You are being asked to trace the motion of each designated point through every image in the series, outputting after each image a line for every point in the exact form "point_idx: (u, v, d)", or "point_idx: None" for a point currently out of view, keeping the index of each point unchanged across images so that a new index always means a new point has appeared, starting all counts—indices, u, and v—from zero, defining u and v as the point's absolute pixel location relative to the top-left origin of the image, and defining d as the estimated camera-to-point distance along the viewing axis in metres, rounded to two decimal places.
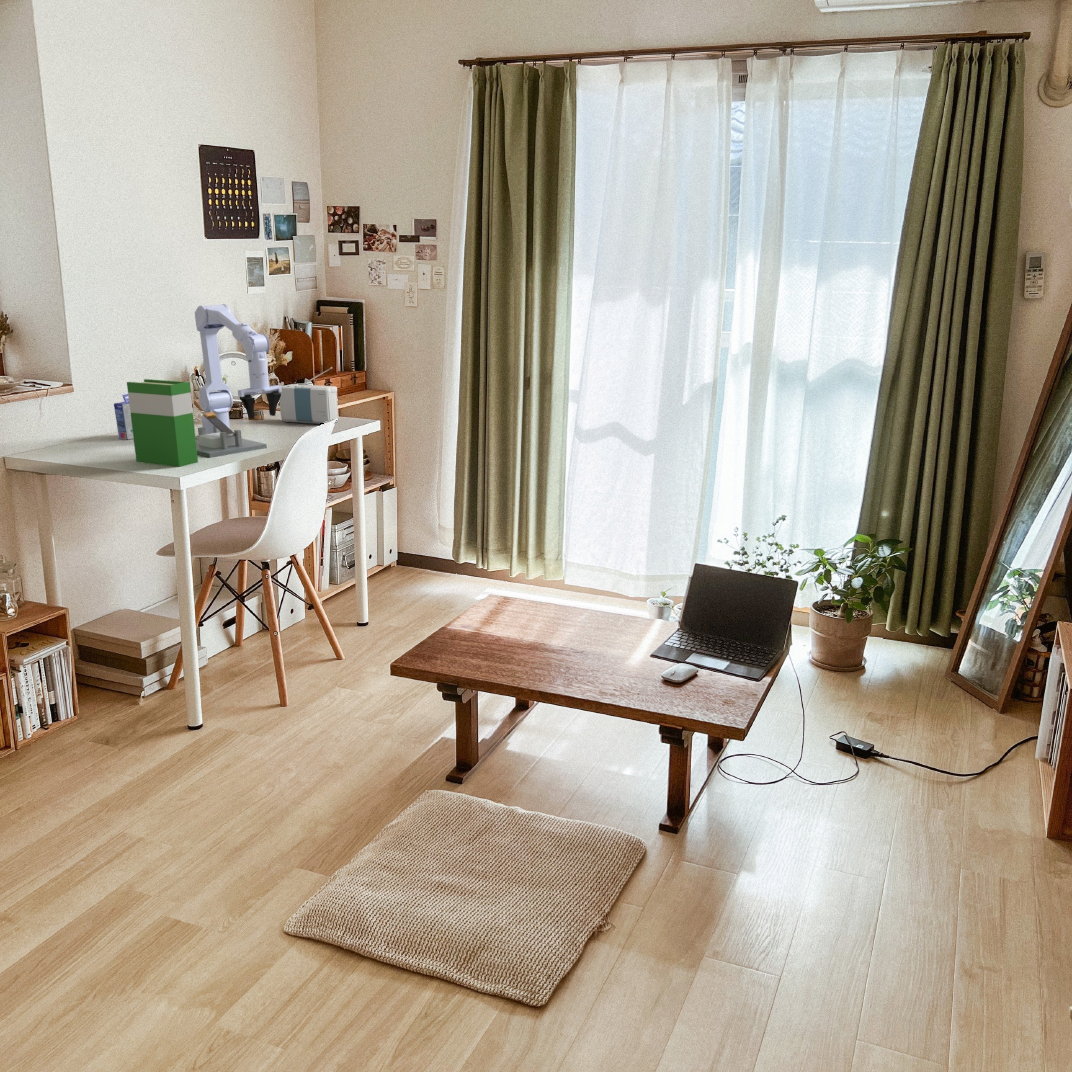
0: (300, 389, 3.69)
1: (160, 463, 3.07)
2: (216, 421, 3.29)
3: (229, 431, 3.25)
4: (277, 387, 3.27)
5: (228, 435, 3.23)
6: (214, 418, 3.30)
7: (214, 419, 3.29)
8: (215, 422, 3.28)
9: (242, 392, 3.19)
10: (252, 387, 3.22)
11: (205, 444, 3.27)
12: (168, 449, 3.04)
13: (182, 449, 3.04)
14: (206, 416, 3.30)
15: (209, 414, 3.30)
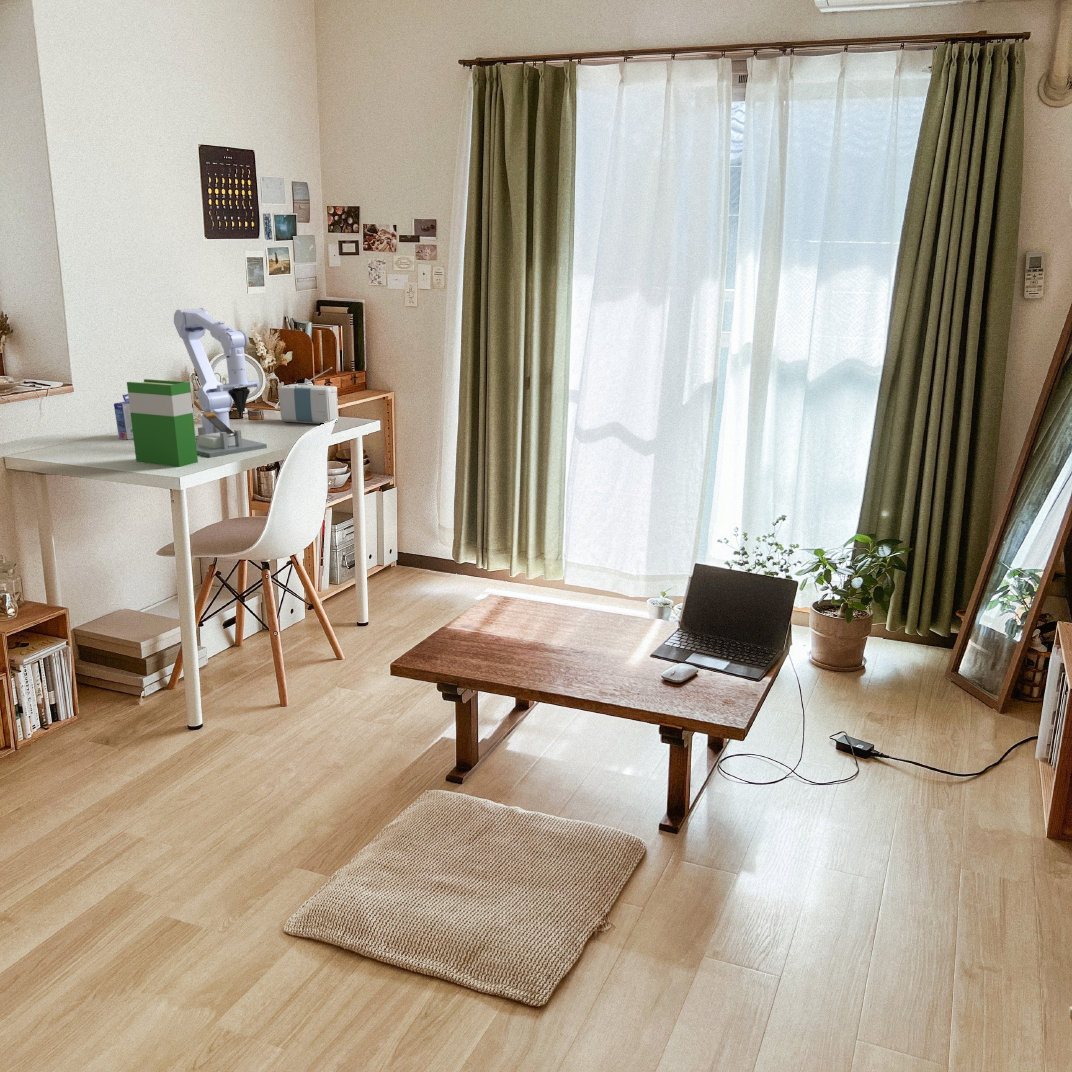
0: (300, 389, 3.69)
1: (160, 463, 3.07)
2: (216, 421, 3.29)
3: (229, 431, 3.25)
4: (255, 382, 3.36)
5: (228, 435, 3.23)
6: (214, 418, 3.30)
7: (214, 419, 3.29)
8: (215, 422, 3.28)
9: (221, 387, 3.27)
10: (231, 382, 3.30)
11: (205, 444, 3.27)
12: (168, 449, 3.04)
13: (182, 449, 3.04)
14: (206, 416, 3.30)
15: (209, 414, 3.30)
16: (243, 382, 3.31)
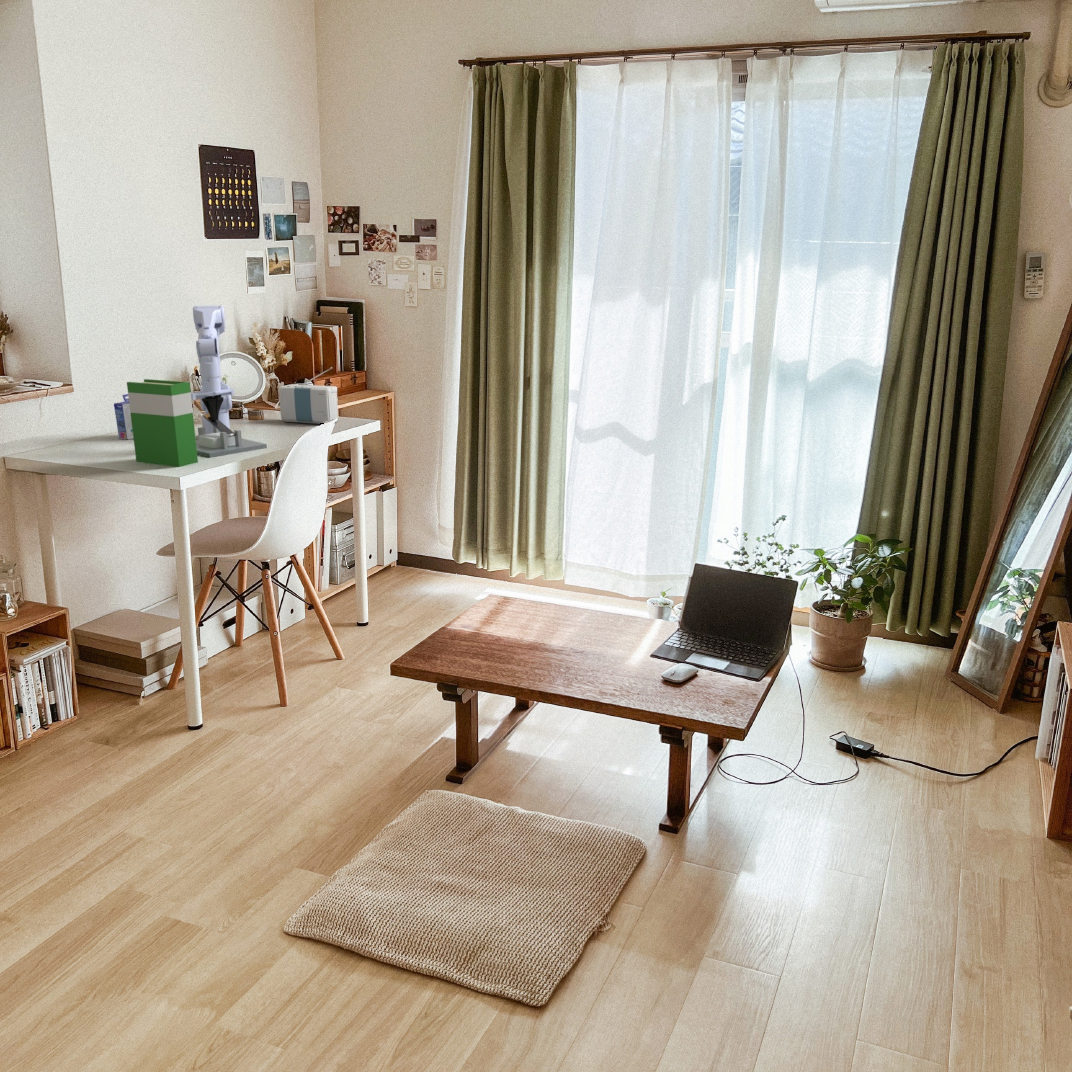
0: (300, 389, 3.69)
1: (160, 463, 3.07)
2: (216, 422, 3.29)
3: (229, 432, 3.25)
4: (229, 390, 3.30)
5: (228, 435, 3.23)
6: None
7: (214, 420, 3.29)
8: (215, 423, 3.28)
9: (193, 395, 3.22)
10: (204, 390, 3.24)
11: (205, 444, 3.27)
12: (168, 449, 3.04)
13: (182, 449, 3.04)
14: (206, 417, 3.30)
15: (209, 415, 3.30)
16: (216, 390, 3.25)
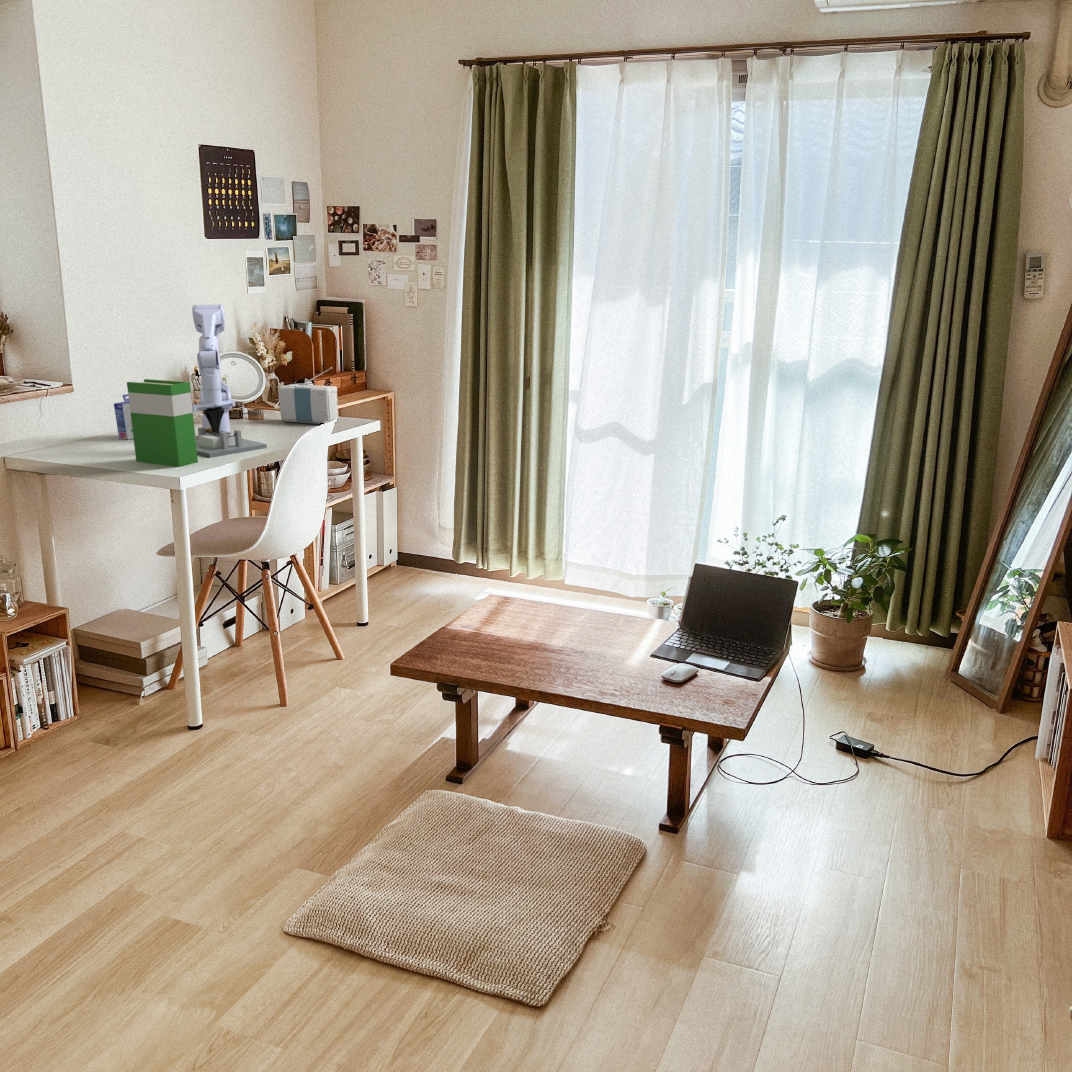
0: (300, 389, 3.69)
1: (160, 463, 3.07)
2: None
3: (229, 433, 3.26)
4: (230, 402, 3.31)
5: (228, 434, 3.23)
6: None
7: None
8: None
9: (195, 407, 3.23)
10: (205, 402, 3.26)
11: (205, 444, 3.27)
12: (168, 449, 3.04)
13: (182, 449, 3.04)
14: (206, 430, 3.31)
15: (208, 428, 3.32)
16: (218, 402, 3.26)
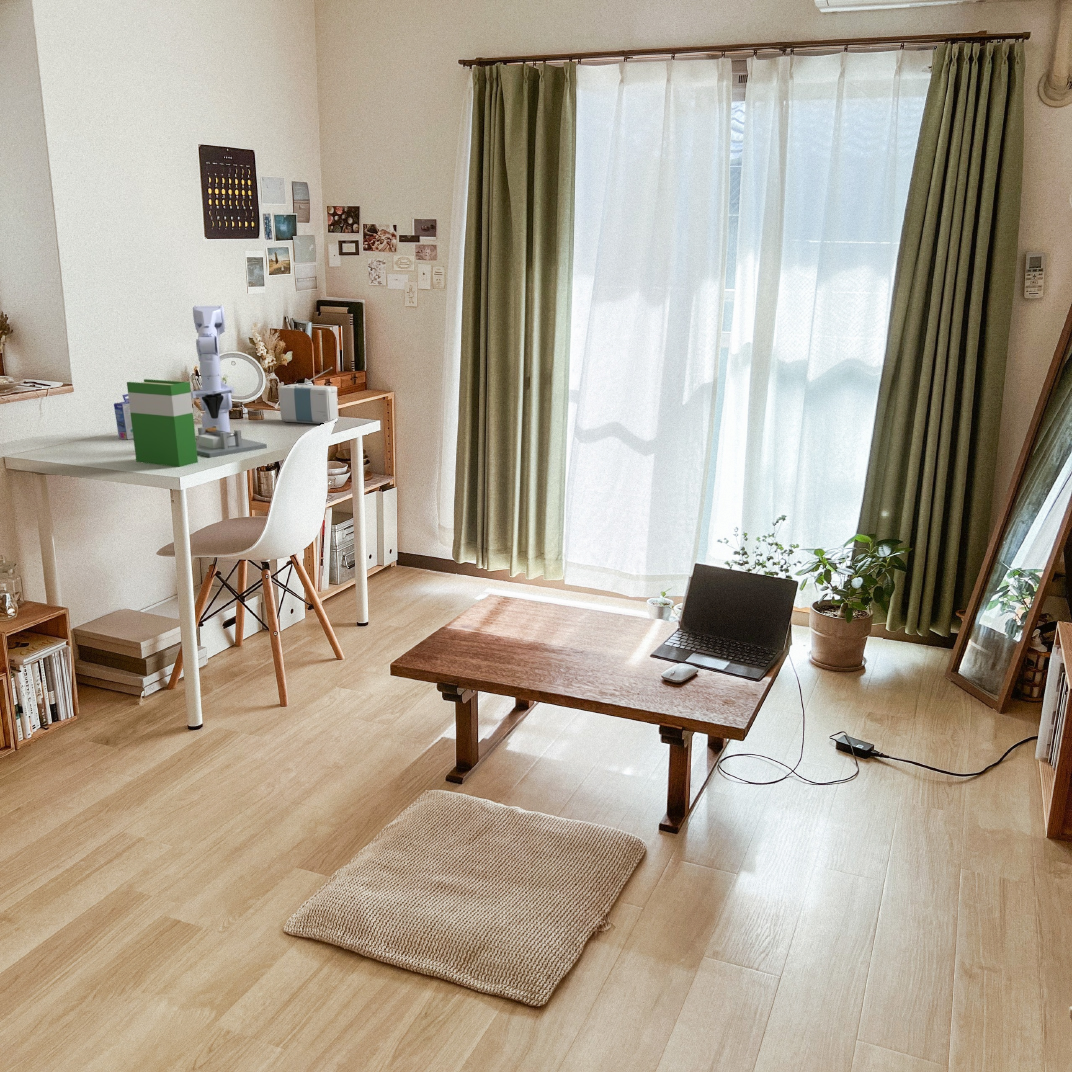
0: (300, 389, 3.69)
1: (160, 463, 3.07)
2: (216, 431, 3.30)
3: (229, 433, 3.26)
4: (229, 388, 3.30)
5: (228, 434, 3.23)
6: (214, 430, 3.32)
7: (214, 430, 3.31)
8: (215, 431, 3.29)
9: (193, 393, 3.21)
10: (204, 388, 3.24)
11: (205, 444, 3.27)
12: (168, 449, 3.04)
13: (182, 449, 3.04)
14: (206, 430, 3.31)
15: (208, 428, 3.32)
16: (217, 388, 3.25)
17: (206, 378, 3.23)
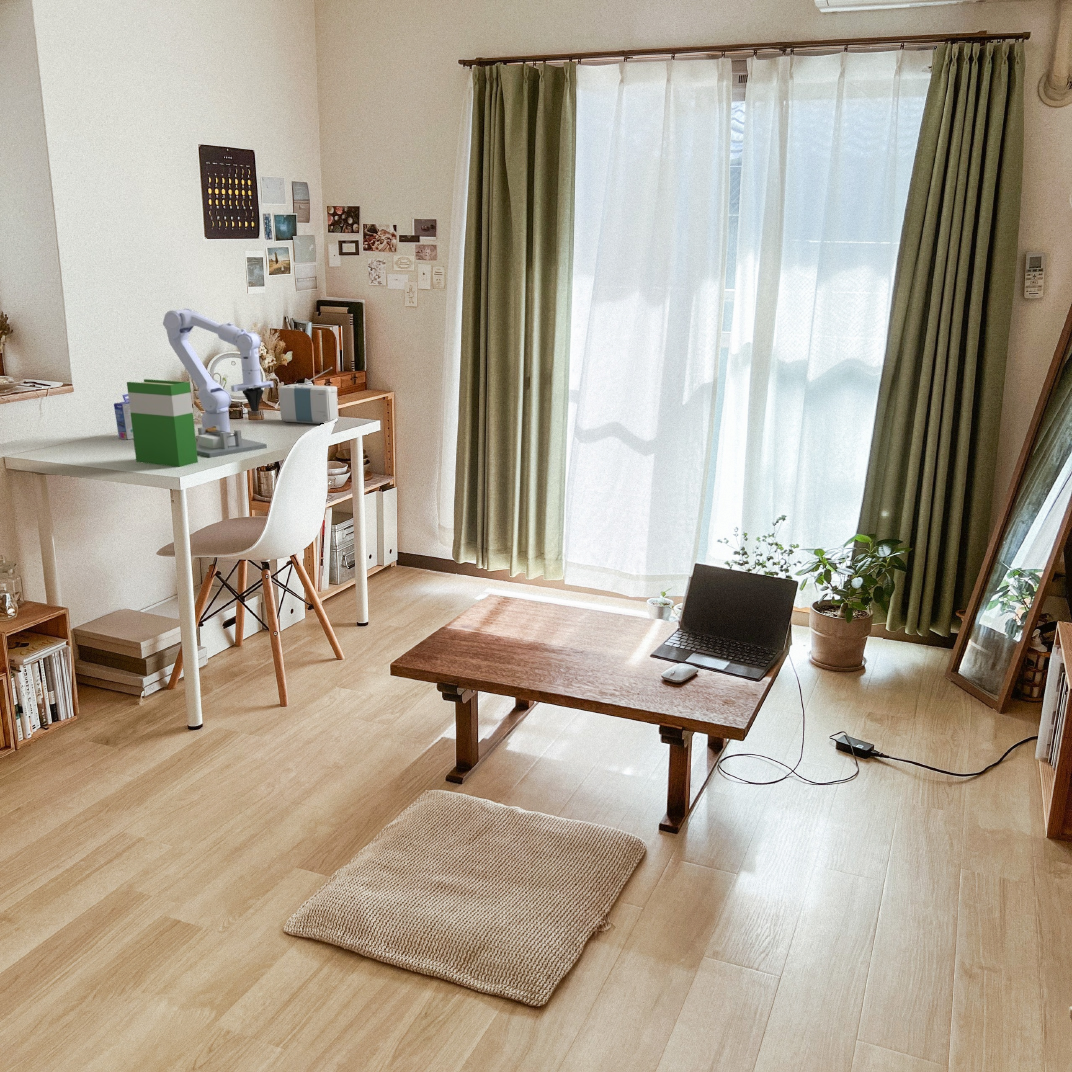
0: (300, 389, 3.69)
1: (160, 463, 3.07)
2: (216, 431, 3.30)
3: (229, 433, 3.26)
4: (269, 383, 3.42)
5: (228, 434, 3.23)
6: (214, 430, 3.32)
7: (214, 430, 3.31)
8: (215, 431, 3.29)
9: (235, 387, 3.34)
10: (245, 382, 3.37)
11: (205, 444, 3.27)
12: (168, 449, 3.04)
13: (182, 449, 3.04)
14: (206, 430, 3.31)
15: (208, 428, 3.32)
16: (257, 383, 3.37)
17: (247, 372, 3.35)
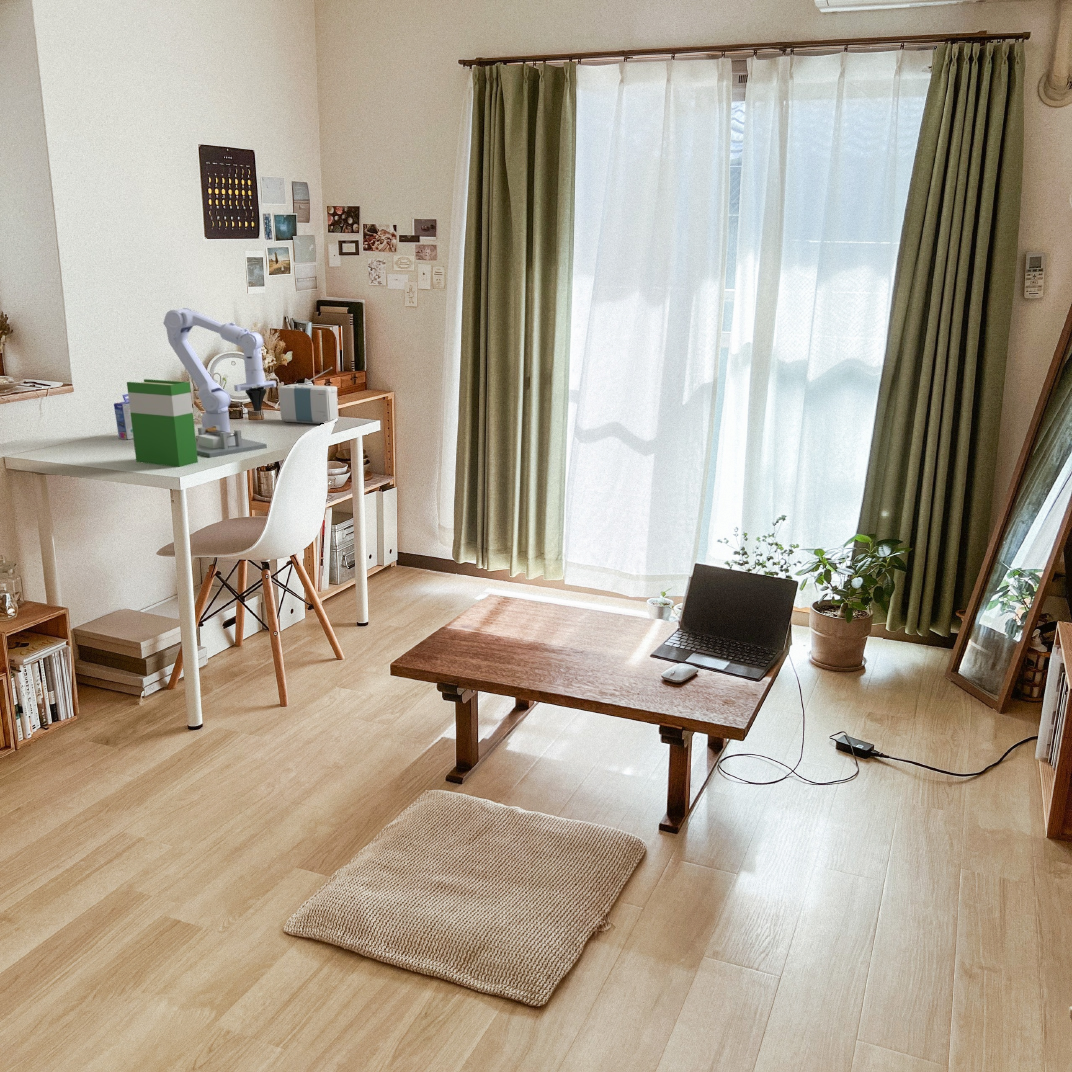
0: (300, 389, 3.69)
1: (160, 463, 3.07)
2: (216, 431, 3.30)
3: (229, 433, 3.26)
4: (272, 382, 3.43)
5: (228, 434, 3.23)
6: (214, 430, 3.32)
7: (214, 430, 3.31)
8: (215, 431, 3.29)
9: (238, 387, 3.35)
10: (248, 382, 3.38)
11: (205, 444, 3.27)
12: (168, 449, 3.04)
13: (182, 449, 3.04)
14: (206, 430, 3.31)
15: (208, 428, 3.32)
16: (260, 382, 3.38)
17: (250, 372, 3.36)
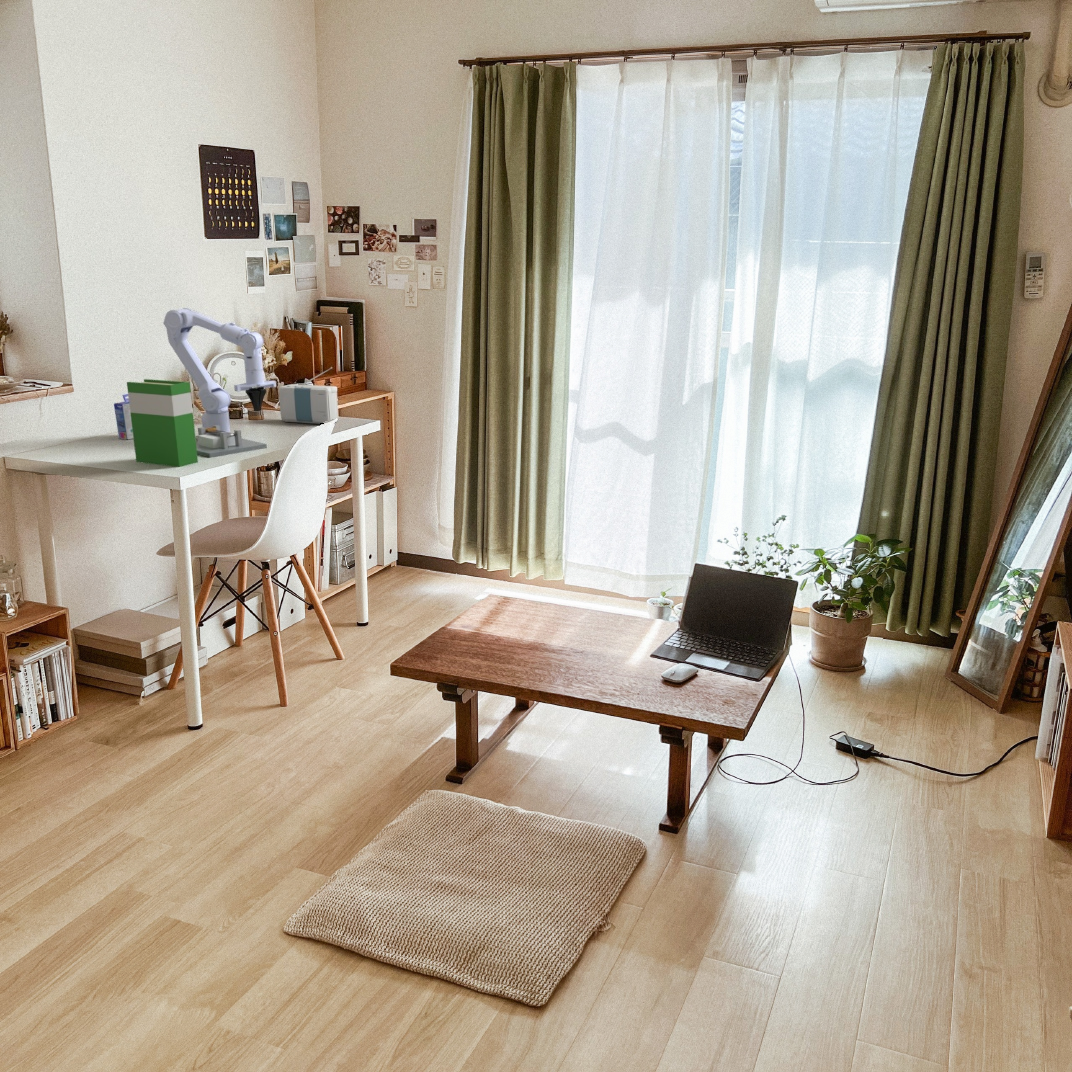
0: (300, 389, 3.69)
1: (160, 463, 3.07)
2: (216, 431, 3.30)
3: (229, 433, 3.26)
4: (272, 382, 3.43)
5: (228, 434, 3.23)
6: (214, 430, 3.32)
7: (214, 430, 3.31)
8: (215, 431, 3.29)
9: (238, 387, 3.35)
10: (248, 382, 3.38)
11: (205, 444, 3.27)
12: (168, 449, 3.04)
13: (182, 449, 3.04)
14: (206, 430, 3.31)
15: (208, 428, 3.32)
16: (260, 382, 3.38)
17: (250, 372, 3.36)
